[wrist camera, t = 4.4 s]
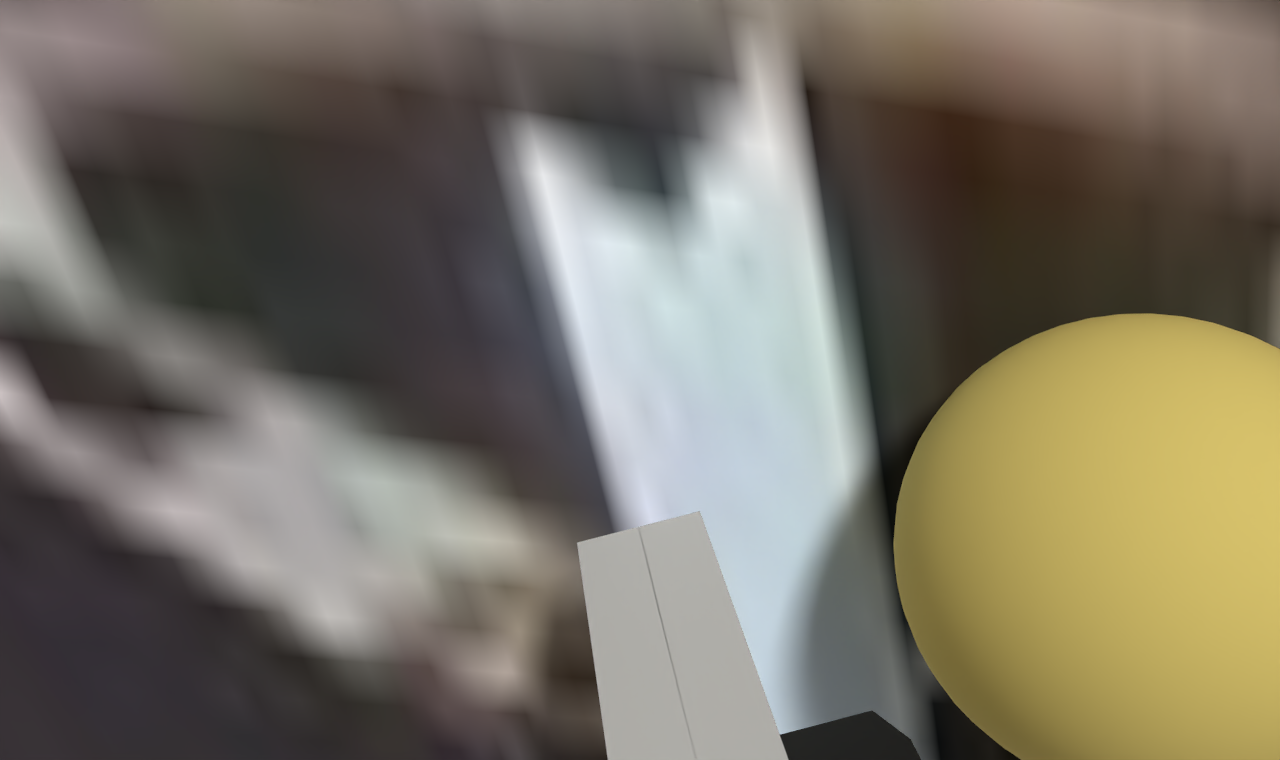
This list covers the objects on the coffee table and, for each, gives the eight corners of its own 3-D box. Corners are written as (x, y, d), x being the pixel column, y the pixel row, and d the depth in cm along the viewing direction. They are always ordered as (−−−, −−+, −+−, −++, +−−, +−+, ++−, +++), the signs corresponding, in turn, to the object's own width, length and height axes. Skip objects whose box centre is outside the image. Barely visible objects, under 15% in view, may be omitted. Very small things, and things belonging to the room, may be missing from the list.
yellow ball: (826, 467, 11) (895, 268, 16) (898, 891, 13) (940, 605, 18) (1513, 444, 9) (1362, 224, 14) (1471, 945, 11) (1353, 608, 16)
